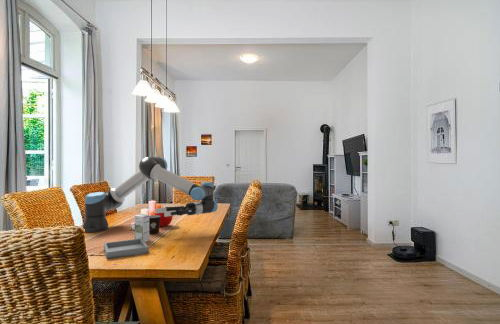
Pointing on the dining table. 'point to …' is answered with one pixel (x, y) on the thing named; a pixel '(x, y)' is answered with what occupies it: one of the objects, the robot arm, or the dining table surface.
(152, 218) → the coffee mug
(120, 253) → the tray
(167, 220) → the tomato
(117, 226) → the dining table surface
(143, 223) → the syrup box
